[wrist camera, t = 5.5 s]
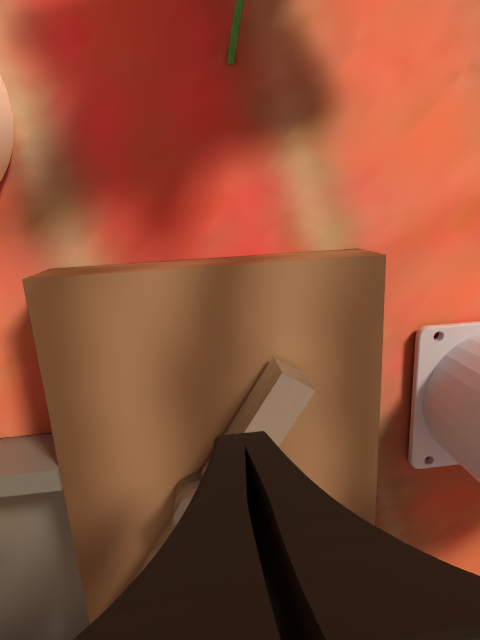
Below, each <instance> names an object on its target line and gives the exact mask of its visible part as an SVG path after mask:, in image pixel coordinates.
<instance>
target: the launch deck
mask: <svg viewBox="0 0 480 640" xmlns="http://www.w3.org/2000/svg"><path fill="white" fill-rule="evenodd" d="M385 267H386V255H384V254H380V253H375V252H371V251H366V250H362V249H343V250H328V251H313V252H298V253H282V254H267V255H252V256H237V257H222V258H206V259H191V260H176V261H161V262H145V263H130V264H115V265H100V266H84V267H69V268H54V269H48V270H46V271H43V272H40V273H38V274H35V275H33V276H30V277H27V278H25V279H22V281H23V286H24V291H25V296H26V301H27V307H28V312H29V317H30V322H31V327H32V332H33V337H34V342H35V347H36V353H37V358H38V363H39V368H40V373H41V378H42V383H43V388H44V393H45V399H46V404H47V409H48V414H49V419H50V424H51V429H52V434H53V439H54V445H55V450H56V455H57V460H58V465H59V470H60V475H61V480H62V485H63V491H64V496H65V501H66V506H67V511H68V516H69V521H70V526H71V531H72V537H73V542H74V547H75V552H76V557H77V562H78V567H79V572H80V577H81V583H82V588H83V593H84V598H85V603H86V608H87V613H88V618H89V623H90V624H91V623H92V622H93V621H94V620H95V619H97V618H98V617H99V616H100V615H101V614H102V613H103V612H104V611H105V610H106V609H107V608H108V607H109V606H110V605H111V604H112V603H113V602H114V601H115V600H116V599H117V598H118V597H119V596H120V594H121V593H122V592H123V591H124V590H125V589H126V588H127V587H128V586H129V585H130V584H131V583H132V581H133V580H134V578H135V576H136V575H137V573H138V572H139V570H140V568H141V567H142V565H143V564H144V562H145V560H146V559H147V557H148V556H149V554H150V552H151V551H152V549H153V548H154V546H155V544H156V543H157V541H158V540H159V538H160V536H161V535H162V533H163V532H164V530H165V528H166V527H167V525H168V524H169V522H170V520H171V519H172V517H173V516H174V503H175V493H176V489H177V487H178V485H179V483H180V482H181V481H182V480H183V479H184V478H185V477H186V476H188V475H189V474H192V473H194V472H197V471H202V469H203V468H204V466H205V464H206V463H207V461H208V460H209V458H210V456H211V453H212V450H213V446H214V439H215V438H216V437H217V436H218V435H224V434H225V432H226V431H227V429H228V428H229V426H230V425H231V423H232V421H233V420H234V418H235V417H236V415H237V413H238V412H239V410H240V409H241V407H242V405H243V404H244V402H245V401H246V399H247V397H248V396H249V394H250V393H251V391H252V389H253V388H254V386H255V385H256V383H257V381H258V380H259V378H260V377H261V375H262V373H263V372H264V370H265V369H266V367H267V365H268V364H269V362H270V361H271V359H272V357H273V356H274V357H276V358H278V359H280V360H281V361H283V362H285V363H287V364H289V365H291V366H293V367H294V368H296V369H298V370H300V371H302V372H304V374H305V375H306V377H307V378H308V380H309V381H310V383H311V384H312V386H313V387H314V389H315V390H316V391H315V393H314V394H313V396H312V397H311V399H310V400H309V402H308V403H307V405H306V406H305V408H304V409H303V411H302V412H301V414H300V415H299V417H298V418H297V420H296V422H295V423H294V425H293V426H292V428H291V429H290V431H289V432H288V434H287V435H286V437H285V438H284V440H283V441H282V443H281V444H280V446H279V448H280V449H281V450H282V451H283V452H284V453H285V455H286V456H287V457H288V458H289V459H290V460H291V461H292V462H293V463H294V464H295V465H296V466H297V467H298V468H299V469H300V470H301V471H302V472H303V473H304V474H305V475H307V476H308V477H309V478H310V479H311V480H312V481H313V482H314V483H315V484H317V485H318V486H319V487H320V488H321V489H322V490H324V491H325V492H326V493H327V494H328V495H330V496H331V497H332V498H334V499H335V500H336V501H338V502H339V503H340V504H342V505H343V506H345V507H346V508H348V509H349V510H351V511H352V512H353V513H355V514H356V515H358V516H359V517H361V518H362V519H364V520H366V521H367V522H369V523H370V524H372V525H374V526H375V523H376V498H377V472H378V446H379V421H380V395H381V370H382V344H383V318H384V293H385Z"/></svg>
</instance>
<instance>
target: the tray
mask: <svg viewBox="0 0 480 640" xmlns="http://www.w3.org/2000/svg"><path fill="white" fill-rule="evenodd" d="M89 625H90V623H89V618H88V613H87V608H86V603H85V598H84V593H83V588H82V583H81V577H80V572H79V567H78V562H77V557H76V552H75V547H74V542H73V537H72V531H71V526H70V521H69V516H68V511H67V506H66V501H65V496H64V491H63V485H62V480H61V475H60V470H59V465H58V460H57V455H56V450H55V445H54V439H53V434H52V433H48V434H38V435H28V436H17V437H7V438H0V640H73V639H74V638H75V637H76V636H78V635H79V634H80V633H81V632H82V631H83V630H84V629H85V628H86V627H88V626H89Z"/></svg>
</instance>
